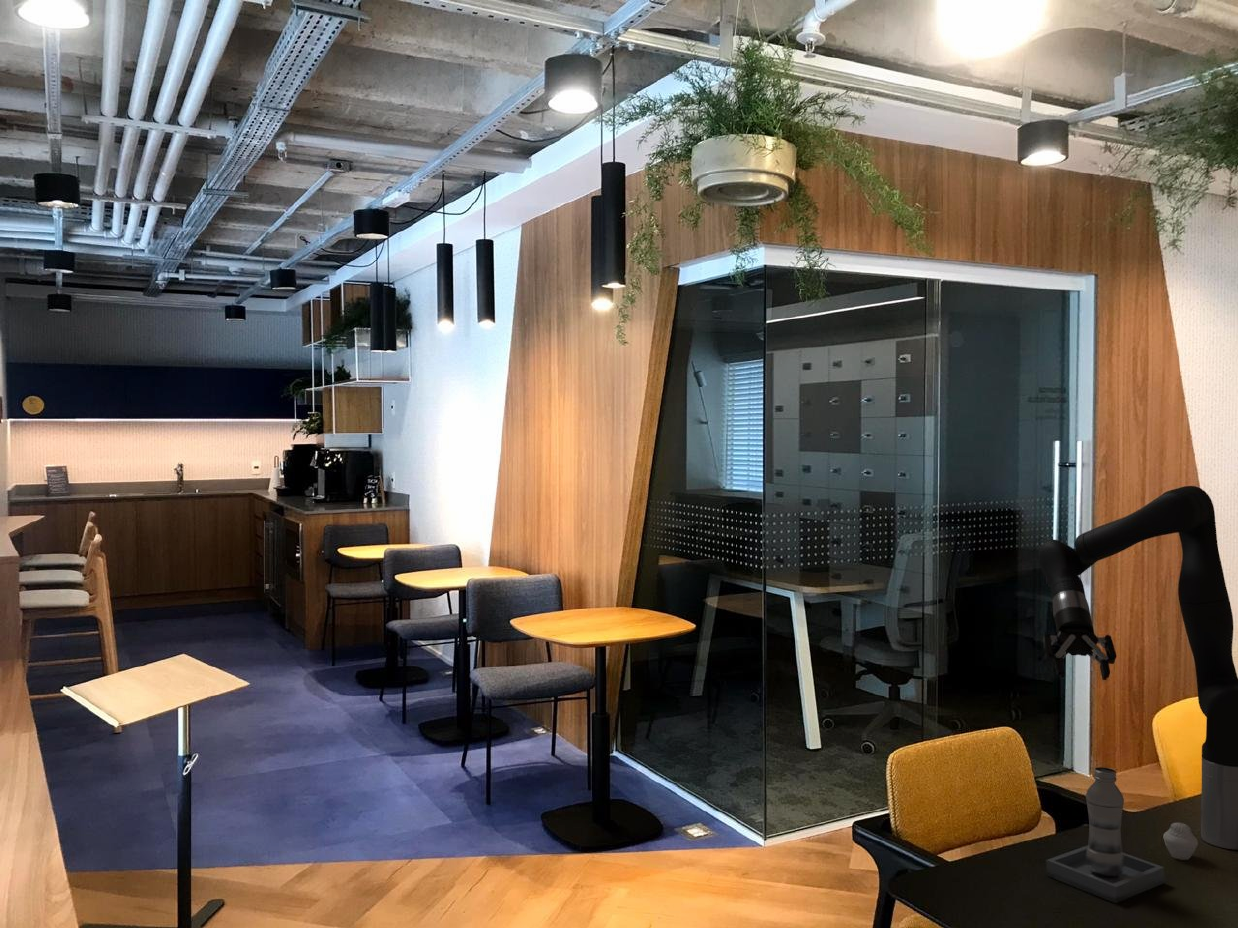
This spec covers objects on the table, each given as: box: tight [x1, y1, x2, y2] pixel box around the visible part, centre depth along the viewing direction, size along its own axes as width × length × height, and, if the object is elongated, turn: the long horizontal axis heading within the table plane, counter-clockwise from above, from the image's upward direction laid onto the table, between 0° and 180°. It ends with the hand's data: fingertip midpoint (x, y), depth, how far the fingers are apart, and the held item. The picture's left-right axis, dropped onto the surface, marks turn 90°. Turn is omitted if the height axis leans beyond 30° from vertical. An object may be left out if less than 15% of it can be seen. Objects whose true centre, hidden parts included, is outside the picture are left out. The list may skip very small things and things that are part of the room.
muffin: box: [1162, 822, 1199, 861], centre depth 200 cm, size 6×6×7 cm
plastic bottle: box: [1085, 766, 1125, 876], centre depth 189 cm, size 6×7×20 cm
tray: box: [1045, 844, 1165, 904], centre depth 189 cm, size 16×14×3 cm
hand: (1083, 676), depth 212 cm, fingers open, 8 cm apart
